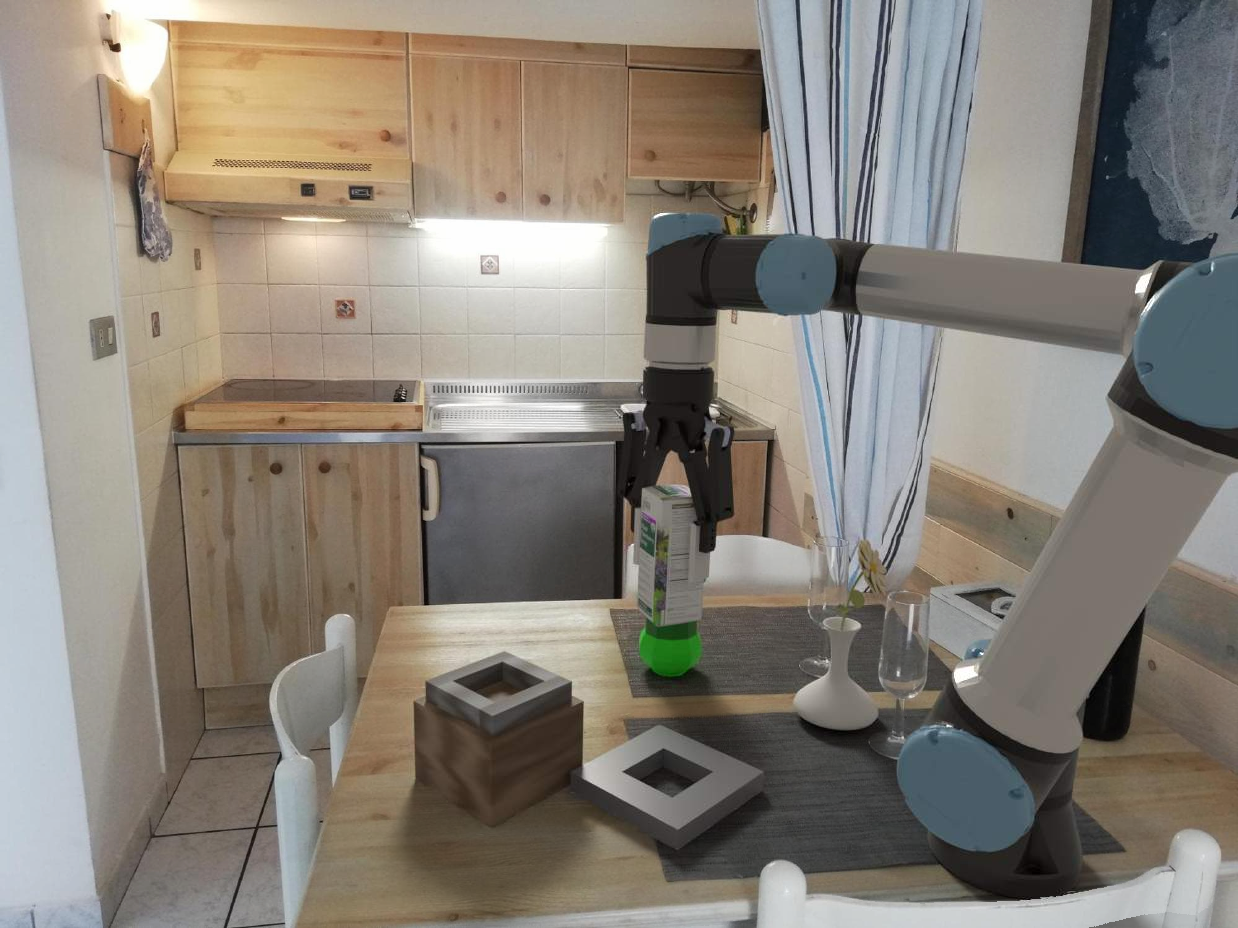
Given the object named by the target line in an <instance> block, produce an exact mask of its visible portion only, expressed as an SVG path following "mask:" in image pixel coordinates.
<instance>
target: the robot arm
mask: <svg viewBox="0 0 1238 928" xmlns="http://www.w3.org/2000/svg"><path fill="white" fill-rule="evenodd" d="M648 228H649V229H648V239H647V240H648V241H647V252H646V253H645V261H646V310H645V311H646V313H645V322H644V338H643V339H644V341H643V359H644V360H645V361H647V362H648V363H649V364H646V365H645V367H644V368H642V369H643V370H642V371H643V373H642V374H643V375H642V397H643V399H644V400H646V402H645V406H644V408H643V410H641V409H640V410H632V411H627V412H624V413H623V414H622V426H623V433H624V435H623V441H622V449H621V457H620V463H619V464H620V466H619V473H618V479H617V480H618V481H617V487H616V495H617V496H618V498H624V499H625V500H626V501H628V504H629V505H630V527H629V528H630V531H631V533H632V534H633V555H632V556H633V557H632V558H633V559H632V560H633V561H632V564H633V565H636V566H639V547H640V525H641V502H642V488H646V487H651V486H657V482H658V481H659V477H660V475H661V472H662V469H663V466H664V464H665V461H666V459H667V456H668V454H669V453H670V452H671V451H672V452H674V453H676V454H677V456H678V460H679V462H681V463H682V464H683V468H684V471H685V472H684V473H685V476H686V480H687V483H688V488H690V492H691V496H692V500H693V504H694V508H695V512H696V516H697V520H696V521H693V522H692V523H691V529H690V551H689V572H688V581H689V582H692V583H695V582H697V581H700V580H703V579H705V578H706V579H708V578H709V577H710V563H711V552H712V553H713V552H714V551H715V549H716V547H717V546H716V545H717V531H718V530H717V528H718V523H719V522H722V521H726V520H729V519H732V518H733V517H734V516H735V507H734V505H735V503H734V502H735V501H734V484H733V482H734V481H733V466H732V445H733V440H734V437H735V431H736V430H735V428H734V427H733V426H732V425H727V426H723V425H721V424H719V423H716V422H714V421H713V418H712V415H711V413H710V405H711V403H712V400H713V399H714V386H715V385H714V383H715V370H714V369H713V368H712V366H709V364H711V363H713V362H714V361H715V358H716V338H717V337H716V335H717V319H718V318H717V317H718V311H738V312H749V313H759V314H774V315H778V316H780V317H781V316H783V317H787V316H800V315H801V316H812V315H816V314H818V313H820V312H821V311H826V312H835V313H841V314H848V315H854V316H866V317H872V318H876V319H877V318H878V319H884V320H885V319H886V320H890V321H891V320H892V321H897V322H898V321H899V322H902V323H903V322H905V323H912V324H917V325H923V326H924V325H925V326H931V327H937V328H943V329H950V330H957V331H963V332H970V333H976V334H982V335H989V336H994V337H995V336H996V337H1002V338H1007V339H1014V340H1021V341H1029V342H1032V343H1033V342H1034V343H1039V344H1040V343H1041V344H1046V345H1053V346H1061V347H1065V348H1066V347H1067V348H1073V349H1080V350H1086V351H1087V350H1088V351H1093V352H1100V353H1105V354H1106V353H1107V354H1112V355H1119V356H1122V357H1124V358H1125V361H1124V364H1123V366H1121V367H1122V368H1121V369H1120V370H1119V372H1118V374H1117V376H1116V378H1115V380H1114V382H1113V383H1112V385H1111V386H1110V387H1111V388H1110V389H1109V390H1108V392H1107V395H1106V396H1105V400H1106V403H1107V406H1108V409H1109V411H1110V413H1111V417H1112V419H1113V426H1112V428H1111V430H1110V431H1109V433H1108V435H1107V437H1106V439H1104V442H1103V443H1102V446H1100V450H1099V451H1098V453H1096V456H1095V458H1094V460H1093V462H1092V463H1091V465H1090V466H1089V468H1088V470H1087V471H1086V474H1084V475H1085V476H1084V477H1083V478H1082V480H1081V482H1080V484H1079V486H1078V487H1077V490H1075V491H1076V492H1075V493H1074V495H1073V496H1072V499H1071V500H1070V502H1069V504H1068V505H1067V507H1066V508H1065V510H1064V512H1063V514H1062V516H1061V517H1060V518H1059V521H1058V522H1057V524H1056V527H1055V528H1054V530H1053V531H1052V533H1051V535H1050V537H1049V538H1048V540H1047V541H1046V544H1045V545H1044V547H1043V549H1042V551H1041V553H1040V554H1039V556H1038V558H1037V559H1036V561H1035V563H1034V565H1033V567H1032V568H1031V570H1030V571H1029V574H1028V575H1027V577H1026V579H1025V580H1024V582H1023V583H1022V586H1021V587H1020V588H1019V589H1020V590H1019V591H1018V593H1017V595H1016V597H1014V600H1013V602H1012V603H1011V605H1010V607H1009V608H1008V610H1007V611H1006V614H1005V615H1004V617H1003V619H1002V621H1001V623H1000V624H999V626H998V628H997V630H996V631H995V633H994V634H993V637H992V638H983V639H978V640H975V641H973V642H971V643H970V644H968V646H967V647H966V650H965V655H964V658H963V659H962V660H961V661H960V662H958V663H957V665H955V667H954V668H953V670H952V672H951V674H950V675H949V678H948V679H947V680H946V683H945V684H944V686H943V688H942V690H941V691H940V693H939V695H938V697H937V698H936V700H935V702H934V704H932V707H931V709H930V711H929V713H928V714H927V716H926V717H925V719H924V720H923V722H922V723H921V725H920V726H919V727H918V728H917V729H915V730H914V731H913V732H912V733H910V734H909V735H908V736H907V737H906V739H905V741H904V743H903V745H902V748H901V750H900V752H899V755H898V757H897V762H896V777H897V782H898V786H899V789H900V790H901V792H902V794H903V797H904V801H905V803H906V805H907V807H908V808H909V810H910V812H911V814H913V815H914V816H915V818H916V819H917V821H919V822H920V823H921V824H922V825H923V826H924V827H925V828H926V829H927V838H926V839H927V843H928V844H927V845H928V846H929V849H930V850H931V852H932V854H933V856H934V857H935V858H936V859H937V861H939V863H940V864H942V866H944V867H945V869H947V870H949V872H951V873H953V874H954V875H955V876H956V877H958V878H960V879H962V880H963V881H966V882H967V883H968V884H972V885H973V886H976V887H977V888H980V889H983V890H985V891H988V892H991V893H994V894H996V895H997V894H998V895H1001V896H1006V897H1010V898H1015V899H1023V900H1024V899H1025V900H1037V899H1036V898H1040V897H1050V896H1057V897H1059V896H1058V895H1060V896H1063V895H1065V894H1067V893H1069V892H1071V891H1072V890H1073V889H1074V888H1075V887H1076V886H1077V884H1078V883H1079V881H1080V878H1081V873H1082V866H1083V859H1084V858H1083V856H1084V855H1083V849H1082V844H1081V839H1080V835H1079V831H1078V827H1077V826H1078V825H1077V821H1076V818H1075V817H1076V816H1075V813H1074V808H1073V803H1072V798H1073V792H1074V791H1073V790H1074V786H1075V777H1076V771H1077V764H1078V756H1079V751H1080V745H1081V744H1082V742H1083V738H1084V734H1083V733H1084V732H1083V723H1084V716H1085V707H1086V703H1087V702H1086V701H1087V699H1089V697H1090V692H1091V691H1092V689H1093V688H1094V686H1095V685H1096V683H1097V682H1098V680H1099V678H1100V677H1101V675H1102V674H1103V672H1104V670H1105V669H1106V667H1107V666H1108V664H1109V663H1110V661H1111V660H1112V658H1113V657H1114V655H1115V654H1116V652H1117V651H1118V649H1119V647H1120V646H1121V644H1122V642H1123V641H1124V639H1125V638H1126V636H1127V635H1128V633H1129V631H1130V630H1131V629H1132V627H1133V626H1134V624H1135V622H1136V621H1137V619H1138V618H1139V617H1140V614H1141V613H1142V612H1143V609H1144V608H1145V607H1146V606H1147V604H1148V602H1149V601H1150V599H1151V597H1152V596H1153V594H1154V592H1155V591H1156V590H1157V588H1158V586H1159V585H1160V583H1161V582H1162V581H1163V579H1164V577H1165V576H1166V574H1167V572H1168V571H1169V570H1170V568H1171V566H1172V564H1173V563H1174V562H1175V560H1176V558H1177V557H1178V556H1179V554H1180V552H1181V551H1182V549H1183V547H1184V546H1185V545H1186V543H1187V541H1188V540H1189V539H1190V537H1191V535H1192V533H1193V532H1194V530H1195V528H1196V527H1197V526H1198V524H1199V523H1200V522H1201V521H1200V520H1201V519H1202V517H1204V515H1205V514H1206V512H1207V510H1208V508H1209V507H1210V505H1211V503H1212V502H1214V501H1213V500H1214V499H1215V497H1216V496H1217V495H1218V493H1219V491H1220V490H1221V488H1222V486H1223V485H1224V483H1225V482H1226V480H1228V477H1230V476H1231V475H1233V474H1236V473H1238V252H1229V253H1224V254H1219V255H1215V256H1212V257H1210V258H1206V259H1203V260H1200V261H1198V262H1189V261H1188V262H1187V261H1186V262H1183V261H1173V260H1161V259H1160V260H1158V261H1157V262H1155V263H1153V264H1152V265H1150V266H1149V267H1147V268H1146V269H1134V268H1133V269H1132V268H1123V267H1122V268H1121V267H1115V266H1114V267H1113V266H1104V265H1103V266H1102V265H1092V264H1085V263H1084V264H1083V263H1073V262H1064V261H1063V262H1062V261H1053V260H1044V259H1033V258H1025V257H1015V256H1003V255H995V254H984V253H974V252H963V251H953V250H943V249H937V248H936V249H934V248H923V247H914V246H905V245H904V246H903V245H893V244H885V243H870V242H866V241H865V242H864V241H856V240H855V241H854V240H851V239H849V238H847V239H845V238H833V237H831V238H829V237H828V238H823V237H821V236H818V235H806V234H804V233H792V232H791V233H789V232H788V233H782V234H777V233H776V234H771V233H770V234H762V233H761V234H731V233H723V224H722V219H721V218H720V217H719V216H718V215H717V214H710V213H695V212H694V213H693V212H692V213H691V212H689V213H688V212H687V213H685V212H684V213H681V212H662V213H659V214H657V215H656V214H655V215H654V216H653V217H652V219H651V221H650V222H649V227H648ZM647 429H648V430H647ZM647 431H648V432H649V433H648V435H647ZM706 436H707V437H706ZM705 437H706V438H705ZM706 443H707V444H708V445H706ZM1062 894H1063V895H1062Z"/></svg>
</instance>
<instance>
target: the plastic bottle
mask: <svg viewBox="0 0 1238 928" xmlns="http://www.w3.org/2000/svg"><path fill="white" fill-rule="evenodd" d="M706 581H707V578H705V579H704V583H706ZM638 640H639V641H638V652H639V653H638V654H639V656H640V658H641V661H642V662H643V663H644V664H645V665H646V666H647V667H648V668H649V669H651V670H652V672H654V673H655V674H657V675H658V676H662V677H669V678H673V677H680V676H682V675H683V674H685V673H687V671H689V670H690V669H691V668H693V667H694V666H695V665H697V663H699V661H700V659H701V657H702V655H703V645H702V640H701V637H700V633H699V632H698V621H692V622H686V623H680V624H673V625H667V626H660V627H657V626H656V625H655V624H654V623H653V622H652V621H650V620H649V619H648V618H647V617H646V616H645V625H644V628H643V629H642V631H641V632H640V635H639V637H638Z"/></svg>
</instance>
